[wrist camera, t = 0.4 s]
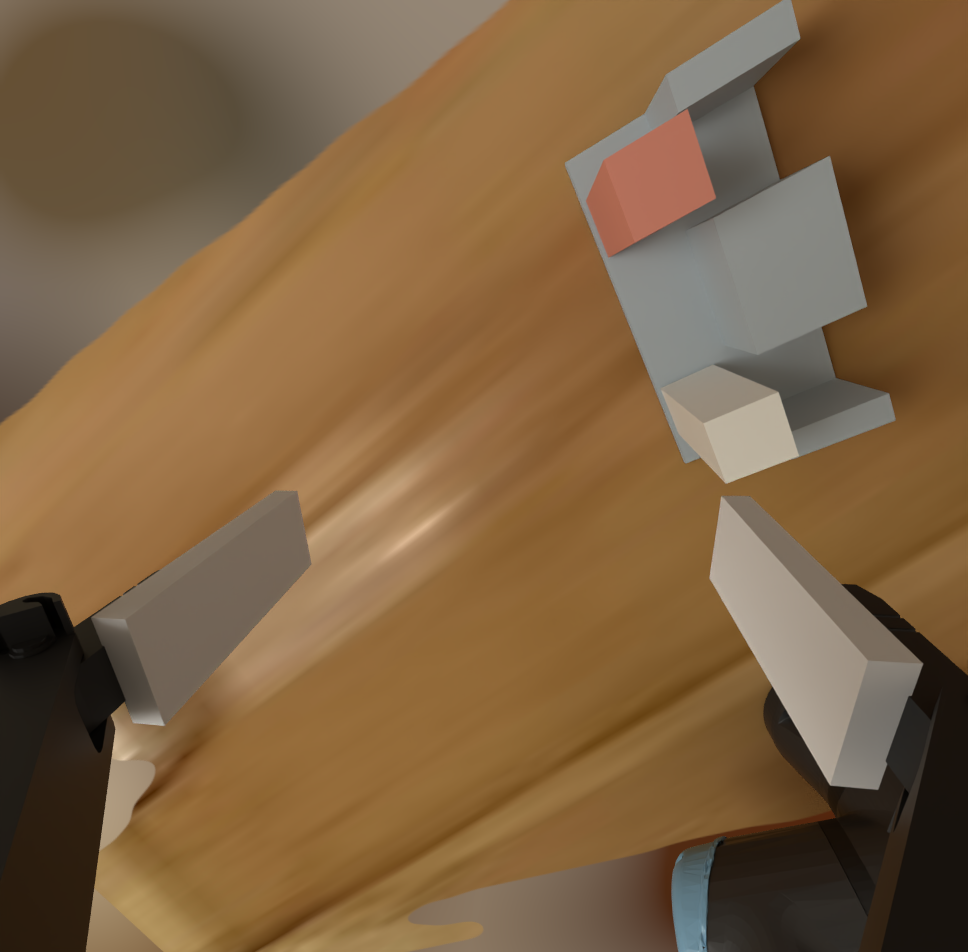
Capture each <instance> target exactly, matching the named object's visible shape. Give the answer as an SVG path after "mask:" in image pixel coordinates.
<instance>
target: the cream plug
mask: <svg viewBox="0 0 968 952" xmlns="http://www.w3.org/2000/svg"><path fill="white" fill-rule="evenodd" d="M660 389H661V391H662V394H663V396H664V399H665V401H666V404H667V406H668V409H669V411H670V414H671V416H672V419H673V421H674V424H675V426H676V429H677V432H678V434H679V435H680V436H681V437H682V438H683V439H684V440H685V441H686V442H687V443H688V444H689V445H690V446H691V447H692V448H693V450H694V451H695V452H696V453H697V454H698V455H699V456H700V457H701V458H702V459H703V460H704V461H705V462H706V463H707V464H708V465H709V466H710V467H711V468H712V469H713V470H714V472H715V473H716V474H717V475H718V476H719V477H720V478H721V479H722V480H723V481H724V482H725V483H726V484H727V483H729V482H732V481H734V480H737V479H740V478H742V477H745V476H748V475H750V474H753V473H756V472H758V471H761V470H763V469H766V468H769V467H771V466H774V465H777V464H779V463H782V462H785V461H787V460H790V459H792V458H795V457H798V456H799V454H798V451H797V448H796V445H795V442H794V438H793V435H792V432H791V429H790V426H789V423H788V420H787V417H786V414H785V410H784V407H783V404H782V401H781V398H780V395H779V392H778V391H775V390H773V389H770V388H768V387H766V386H763V385H761V384H759V383H756V382H754V381H751V380H749V379H747V378H744V377H742V376H739V375H737V374H735V373H732V372H730V371H728V370H725V369H723V368H720V367H718V366H716V365H711V366H709V367H706V368H704V369H702V370H700V371H697V372H695V373H693V374H691V375H689V376H686V377H684V378H682V379H680V380H678V381H675V382H673V383H671V384H669V385H666V386H664V387H662V388H660Z"/></svg>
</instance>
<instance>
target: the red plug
mask: <svg viewBox="0 0 968 952" xmlns="http://www.w3.org/2000/svg"><path fill="white" fill-rule="evenodd" d="M714 199H716V196H715V193H714V190H713V186H712V183H711V180H710V177H709V174H708V171H707V168H706V165H705V162H704V158H703V155H702V152H701V149H700V146H699V143H698V140H697V137H696V134H695V130H694V127H693V124H692V121H691V118H690V115H689V112H688V109H687V110H685V111H683V112H682V113H680V114H678V115H677V116H675V117H673V118H672V119H670V120H669V121H667V122H665V123H664V124H662V125H660V126H659V127H657V128H655V129H654V130H652V131H650V132H649V133H647V134H645V135H644V136H642V137H641V138H639V139H637V140H636V141H634V142H632V143H631V144H629V145H627V146H626V147H624V148H622V149H621V150H619V151H617V152H616V153H614V154H613V155H611V156H609V157H608V158H606V159H604V160H603V162H602V165H601V167H600V169H599V172H598V174H597V176H596V179H595V181H594V183H593V185H592V188H591V190H590V192H589V195H588V197H587V199H586V203H587V205H588V208H589V210H590V213H591V215H592V218H593V220H594V223H595V225H596V228H597V230H598V233H599V235H600V238H601V240H602V243H603V245H604V248H605V250H606V253H607V256H608V258H609V257H611V256H613V255H615V254H616V253H618V252H620V251H622V250H624V249H626V248H627V247H629V246H631V245H633V244H635V243H637V242H638V241H640V240H642V239H644V238H646V237H648V236H649V235H651V234H653V233H655V232H657V231H659V230H660V229H662V228H664V227H666V226H668V225H669V224H671V223H673V222H675V221H677V220H678V219H680V218H682V217H684V216H685V215H687V214H689V213H691V212H693V211H694V210H696V209H698V208H700V207H701V206H703V205H705V204H707V203H709V202H710V201H712V200H714Z"/></svg>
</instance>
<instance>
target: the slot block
mask: <svg viewBox="0 0 968 952" xmlns="http://www.w3.org/2000/svg"><path fill="white" fill-rule="evenodd" d="M799 40H800V35H799V31H798V27H797V23H796V19H795V14H794V10H793V6H792V2H791V0H783V1H781V2H780V3H778V4H777V5H775V6H773V7H772V8H770V9H769V10H767V11H766V12H764V13H762V14H761V15H759V16H758V17H756V18H755V19H753V20H751V21H750V22H748V23H747V24H745V25H744V26H742V27H740V28H739V29H737V30H736V31H734V32H732V33H731V34H729V35H728V36H726V37H725V38H723V39H721V40H720V41H718V42H717V43H715V44H714V45H712V46H710V47H709V48H707V49H706V50H704V51H703V52H701V53H699V54H698V55H696V56H695V57H693V58H692V59H690V60H688V61H687V62H685V63H684V64H682V65H681V66H679V67H677V68H676V69H674V70H673V71H671V72H669V73H668V74H666V76H665V78H664V79H663V81H662V83H661V85H660V87H659V88H658V90H657V92H656V94H655V96H654V98H653V99H652V101H651V103H650V105H649V107H648V108H647V110H646V112H645V114H643V115H642V116H640V117H638V118H637V119H635V120H633V121H632V122H630V123H629V124H627V125H625V126H624V127H622V128H621V129H619V130H617V131H616V132H614V133H613V134H611V135H609V136H608V137H606V138H604V139H603V140H601V141H600V142H598V143H596V144H595V145H593V146H592V147H590V148H588V149H587V150H585V151H583V152H582V153H580V154H579V155H577V156H575V157H574V158H572V159H571V160H569V161H567V162H566V163H565V167H566V169H567V172H568V174H569V177H570V179H571V182H572V184H573V187H574V189H575V192H576V194H577V197H578V199H579V202H580V204H581V207H582V209H583V212H584V214H585V217H586V219H587V222H588V224H589V227H590V229H591V232H592V234H593V237H594V239H595V242H596V244H597V247H598V249H599V252H600V254H601V257H602V259H603V262H604V264H605V266H606V269H607V271H608V274H609V276H610V279H611V281H612V284H613V286H614V289H615V291H616V294H617V296H618V299H619V301H620V304H621V306H622V309H623V311H624V314H625V316H626V319H627V321H628V324H629V326H630V329H631V331H632V334H633V336H634V339H635V341H636V344H637V346H638V349H639V351H640V354H641V356H642V359H643V361H644V364H645V366H646V369H647V371H648V374H649V376H650V379H651V381H652V384H653V386H654V388H655V391H656V393H657V396H658V398H659V401H660V403H661V406H662V408H663V411H664V413H665V416H666V418H667V421H668V423H669V426H670V428H671V431H672V433H673V436H674V438H675V441H676V443H677V446H678V448H679V451H680V453H681V456H682V458H683V461H684V462H685V463H688V462H691V461H693V460H696V459H698V458H701V457H700V456H699V455H698V454H697V453H696V452H695V451H694V450H693V448H692V447H691V446H690V445H689V444H688V443H687V442H686V441H685V440H684V439H683V438H682V437H681V436H680V435H679V434H678V432H677V429H676V426H675V424H674V421H673V419H672V416H671V414H670V411H669V409H668V406H667V404H666V401H665V399H664V396H663V394H662V391H661V389H660V388H662V387H664V386H666V385H669V384H671V383H673V382H675V381H678V380H680V379H682V378H684V377H686V376H689V375H691V374H693V373H695V372H697V371H700V370H702V369H704V368H706V367H709V366H711V365H716V366H718V367H720V368H723V369H725V370H728V371H730V372H732V373H735V374H737V375H739V376H742V377H744V378H747V379H749V380H751V381H754V382H756V383H759V384H761V385H763V386H766V387H768V388H770V389H773V390H775V391H778V392H779V395H780V398H781V401H782V404H783V407H784V410H785V414H786V417H787V420H788V423H789V426H790V429H791V432H792V435H793V438H794V442H795V445H796V448H797V451H798V454H799V456H798V457H800V456H803V455H805V454H808V453H811V452H813V451H816V450H819V449H821V448H824V447H826V446H829V445H832V444H834V443H837V442H840V441H842V440H845V439H848V438H850V437H853V436H855V435H858V434H861V433H863V432H866V431H869V430H871V429H874V428H877V427H879V426H882V425H885V424H887V423H890V422H892V421H895V420H896V419H895V415H894V411H893V407H892V403H891V399H890V395H889V393H886V392H883V391H879V390H876V389H872V388H869V387H865V386H862V385H858V384H855V383H852V382H848V381H845V380H841V379H838V378H836V377H835V374H834V370H833V366H832V363H831V359H830V356H829V352H828V349H827V345H826V342H825V338H824V334H823V331H822V326H824V325H827V324H829V323H831V322H833V321H836V320H838V319H840V318H842V317H845V316H847V315H849V314H851V313H854V312H856V311H858V310H860V309H863V308H865V307H867V303H866V299H865V295H864V291H863V287H862V283H861V279H860V275H859V271H858V267H857V263H856V259H855V255H854V251H853V247H852V243H851V239H850V235H849V231H848V227H847V223H846V219H845V215H844V211H843V207H842V203H841V199H840V195H839V191H838V187H837V183H836V179H835V175H834V171H833V167H832V163H831V159H830V156H828V157H826V158H824V159H822V160H820V161H818V162H816V163H814V164H812V165H810V166H808V167H806V168H803V169H801V170H799V171H797V172H795V173H793V174H791V175H789V176H787V177H785V178H783V179H781V180H780V178H779V175H778V171H777V168H776V164H775V160H774V157H773V153H772V150H771V146H770V143H769V139H768V136H767V132H766V128H765V125H764V121H763V118H762V114H761V111H760V107H759V104H758V100H757V96H756V93H755V89H754V85H755V84H756V83H757V82H758V81H759V80H760V79H761V78H762V77H763V76H764V75H765V74H766V73H767V72H768V71H769V70H770V69H771V68H772V67H773V66H774V65H775V64H776V63H777V62H778V61H779V60H780V59H781V58H782V57H783V56H784V55H785V54H786V53H787V52H788V51H789V50H790V49H791V48H792V47H793V46H794V45H795V44H796V43H797V42H798V41H799ZM687 109H688V112H689V115H690V118H691V121H692V124H693V127H694V130H695V134H696V137H697V140H698V143H699V146H700V149H701V152H702V155H703V158H704V162H705V165H706V168H707V171H708V174H709V177H710V180H711V183H712V186H713V190H714V193H715V196H716V199H714V200H712V201H710V202H709V203H707V204H705V205H703V206H701V207H700V208H698V209H696V210H694V211H693V212H691V213H689V214H687V215H685V216H684V217H682V218H680V219H678V220H677V221H675V222H673V223H671V224H669V225H668V226H666V227H664V228H662V229H660V230H659V231H657V232H655V233H653V234H651V235H649V236H648V237H646V238H644V239H642V240H640V241H638V242H637V243H635V244H633V245H631V246H629V247H627V248H626V249H624V250H622V251H620V252H618V253H616V254H615V255H613V256H611V257H609V258H608V256H607V253H606V250H605V248H604V245H603V243H602V240H601V238H600V235H599V233H598V230H597V228H596V225H595V223H594V220H593V218H592V215H591V213H590V210H589V208H588V205H587V203H586V199H587V197H588V195H589V192H590V190H591V188H592V185H593V183H594V181H595V179H596V176H597V174H598V172H599V169H600V167H601V165H602V162H603V160H604V159H606V158H608V157H609V156H611V155H613V154H614V153H616V152H617V151H619V150H621V149H622V148H624V147H626V146H627V145H629V144H631V143H632V142H634V141H636V140H637V139H639V138H641V137H642V136H644V135H645V134H647V133H649V132H650V131H652V130H654V129H655V128H657V127H659V126H660V125H662V124H664V123H665V122H667V121H669V120H670V119H672V118H673V117H675V116H677V115H678V114H680V113H682V112H683V111H685V110H687ZM795 458H797V457H795ZM795 458H792V459H795Z"/></svg>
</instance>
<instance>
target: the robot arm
mask: <svg viewBox="0 0 968 952" xmlns="http://www.w3.org/2000/svg"><path fill="white" fill-rule="evenodd" d="M310 565H311V559H310V554H309V549H308V544H307V539H306V534H305V529H304V524H303V518H302V513H301V508H300V503H299V498H298V493H297V491H274V492H273V493H271V494H270V495H269V496H267V497H266V498H264V499H263V500H261V501H260V502H258V503H257V504H255V505H254V506H253V507H251V508H250V509H248V510H247V511H245V512H244V513H242V514H241V515H239V516H238V517H237V518H235V519H234V520H232V521H231V522H229V523H228V524H226V525H225V526H223V527H222V528H221V529H219V530H218V531H216V532H215V533H213V534H212V535H210V536H209V537H207V538H206V539H205V540H203V541H202V542H200V543H199V544H197V545H196V546H194V547H193V548H191V549H190V550H189V551H187V552H186V553H184V554H183V555H181V556H180V557H178V558H177V559H175V560H174V561H173V562H171V563H170V564H168V565H167V566H165V567H164V568H162V569H161V570H158V571H156V572H154V573H153V574H151V575H150V576H148V577H147V578H145V579H144V580H143V581H141V582H140V583H138V585H137V586H134V587H132V588H131V589H129V590H128V591H126V592H125V593H124V594H123V596H119V597H118V598H116V599H115V600H113V601H112V602H110V603H109V604H107V605H106V606H104V607H103V608H102V609H100V610H99V611H97V612H96V613H94V614H93V615H91V616H90V617H88V618H87V619H85V620H84V621H83V622H81V623H80V624H78V625H77V626H75V627H73V625H72V622H71V620H70V618H69V615H68V613H67V610H66V608H65V606H64V603H63V601H62V599H61V596H60V595H58V594H55V593H38V594H33V595H28V596H24V597H21V598H18V599H15V600H12V601H9V602H6V603H4V604H2V605H0V952H86V945H87V936H88V930H89V922H90V915H91V907H92V900H93V892H94V885H95V877H96V870H97V862H98V855H99V847H100V840H101V832H102V824H103V817H104V810H105V802H106V794H107V787H108V779H109V772H110V764H111V757H112V750H113V742H114V735H115V726H114V722H113V720H112V717H111V714H112V713H113V712H114V711H115V710H116V709H117V708H118V707H119V706H120V705H121V704H122V703H124V702H125V704H126V706H127V709H128V711H129V714H130V716H131V719H132V721H133V723H140V724H151V725H162V726H165V725H166V724H167V723H168V722H169V720H170V719H171V718H172V717H173V716H174V715H175V714H176V713H177V712H178V711H179V709H180V708H181V707H182V706H183V705H184V704H185V703H186V702H187V701H188V700H189V698H190V697H191V696H192V695H193V694H194V693H195V692H196V691H197V690H198V689H199V687H200V686H201V685H202V684H203V683H204V682H205V681H206V680H207V679H208V678H209V676H210V675H211V674H212V673H213V672H214V671H215V670H216V669H217V668H218V667H219V665H220V664H221V663H222V662H223V661H224V660H225V659H226V658H227V657H228V656H229V654H230V653H231V652H232V651H233V650H234V649H235V648H236V647H237V646H238V645H239V643H240V642H241V641H242V640H243V639H244V638H245V637H246V636H247V635H248V634H249V632H250V631H251V630H252V629H253V628H254V627H255V626H256V625H257V624H258V623H259V621H260V620H261V619H262V618H263V617H264V616H265V615H266V614H267V613H268V612H269V610H270V609H271V608H272V607H273V606H274V605H275V604H276V603H277V602H278V601H279V599H280V598H281V597H282V596H283V595H284V594H285V593H286V592H287V591H288V590H289V588H290V587H291V586H292V585H293V584H294V583H295V582H296V581H297V580H298V579H299V577H300V576H301V575H302V574H303V573H304V572H305V571H306V570H307V569H308V568H309V566H310ZM710 580H711V581H712V583H713V585H714V587H715V588H716V590H717V592H718V593H719V595H720V597H721V599H722V600H723V602H724V604H725V606H726V607H727V609H728V611H729V612H730V614H731V616H732V618H733V619H734V621H735V623H736V624H737V626H738V628H739V630H740V631H741V633H742V635H743V636H744V638H745V640H746V642H747V643H748V645H749V647H750V649H751V650H752V652H753V654H754V655H755V657H756V659H757V661H758V662H759V664H760V666H761V667H762V669H763V671H764V673H765V674H766V676H767V678H768V679H769V681H770V683H771V685H772V686H773V687H772V689H771V690H770V692H769V694H768V696H767V698H766V701H765V704H764V721H765V725H766V728H767V730H768V732H769V734H770V736H771V738H772V739H773V741H774V743H775V745H776V747H777V749H778V750H779V752H780V753H781V754H782V756H783V757H784V758H785V759H786V760H787V761H788V762H789V763H790V764H791V765H792V766H793V767H794V768H795V769H796V770H797V772H798V773H799V774H800V775H801V776H802V777H803V778H804V779H805V780H806V781H807V782H808V783H809V784H810V785H811V786H812V787H813V788H814V789H815V790H816V791H817V792H818V793H819V794H820V795H821V796H822V797H823V798H824V799H825V800H826V801H827V803H828V804H829V806H830V808H831V809H832V811H833V813H834V815H835V817H836V818H834V819H829V820H824V821H818V822H813V823H807V824H801V825H796V826H790V827H785V828H779V829H774V830H769V831H763V832H758V833H752V834H747V835H741V836H736V837H730V838H727V837H725V836H722V837H718V838H717V839H715V840H714V842H711V843H707V844H703V845H699V846H695V847H691V848H688V849H686V850H684V851H683V852H682V853H681V854H680V855H679V857H678V859H677V861H676V863H675V867H674V870H673V875H672V908H673V918H674V926H675V933H676V939H677V946H678V951H679V952H968V675H966V674H965V673H964V672H963V671H962V670H961V669H960V668H959V667H957V666H956V665H955V664H954V663H953V662H952V661H951V660H950V659H948V658H947V657H946V656H945V655H944V654H943V653H942V652H941V651H940V650H938V649H937V648H936V647H935V646H934V645H933V644H932V643H931V642H929V641H928V640H927V639H926V638H925V637H924V636H923V635H922V634H920V633H919V632H916V631H915V628H914V627H913V626H911V625H910V624H909V623H908V622H907V621H906V620H905V619H904V618H900V615H899V614H898V613H897V612H896V611H895V610H894V609H892V608H891V607H890V606H889V605H888V604H887V603H886V602H885V601H883V600H882V599H881V598H879V597H877V596H876V595H874V594H872V593H870V592H868V591H866V590H865V589H863V588H861V587H859V586H857V585H851V584H840V583H839V582H838V581H837V580H836V579H835V578H834V577H833V576H832V575H831V574H830V573H829V572H828V571H827V570H826V569H825V568H824V567H823V566H822V565H821V564H820V563H818V562H817V561H816V560H815V559H814V558H813V557H812V556H811V555H810V554H809V553H808V552H807V551H806V550H805V549H804V548H803V547H802V546H801V545H800V544H799V543H798V542H797V541H796V540H795V539H794V538H793V537H792V536H791V535H789V534H788V533H787V532H786V531H785V530H784V529H783V528H782V527H781V526H780V525H779V524H778V523H777V522H776V521H775V520H774V519H773V518H772V517H771V516H770V515H769V514H768V513H767V512H766V511H765V510H764V509H763V508H762V507H761V506H759V505H758V504H757V503H756V502H755V501H754V500H753V499H752V498H751V497H750V496H722V497H721V503H720V510H719V517H718V524H717V531H716V537H715V544H714V551H713V558H712V565H711V572H710Z"/></svg>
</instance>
